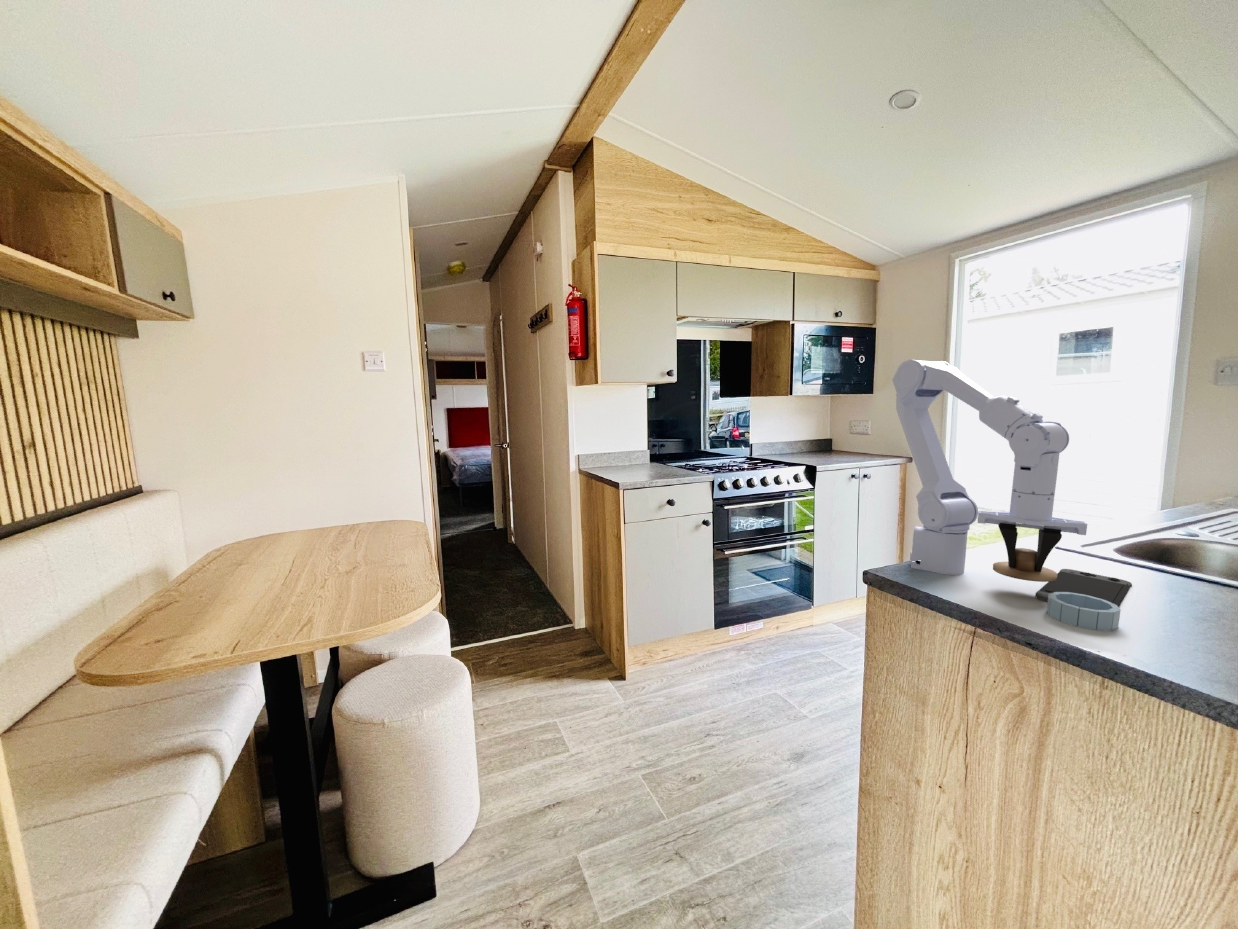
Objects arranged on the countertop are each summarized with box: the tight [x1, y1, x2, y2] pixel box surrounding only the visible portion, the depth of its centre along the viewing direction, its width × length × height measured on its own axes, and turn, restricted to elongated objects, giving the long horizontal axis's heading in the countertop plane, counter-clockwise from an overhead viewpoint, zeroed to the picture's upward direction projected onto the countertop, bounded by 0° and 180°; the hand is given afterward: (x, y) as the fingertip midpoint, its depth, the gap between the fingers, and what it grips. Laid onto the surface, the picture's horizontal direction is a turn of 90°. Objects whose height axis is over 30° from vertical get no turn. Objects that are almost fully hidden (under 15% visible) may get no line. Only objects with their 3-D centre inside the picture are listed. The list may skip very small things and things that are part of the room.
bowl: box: [1046, 592, 1121, 632], centre depth 78 cm, size 8×8×4 cm
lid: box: [992, 547, 1057, 583], centre depth 88 cm, size 9×9×4 cm
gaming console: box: [1035, 568, 1133, 608], centre depth 90 cm, size 24×1×10 cm
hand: (1024, 568), depth 88 cm, fingers closed on lid, 3 cm apart
